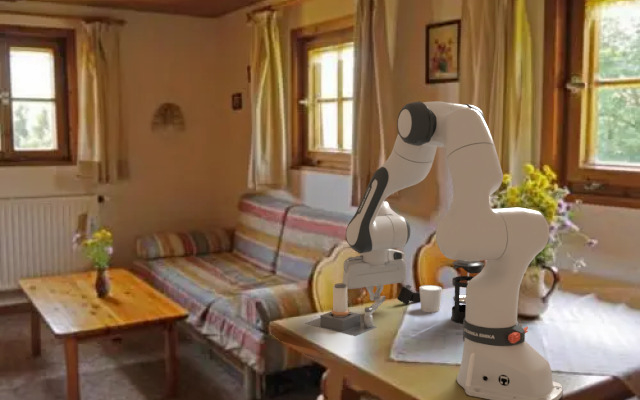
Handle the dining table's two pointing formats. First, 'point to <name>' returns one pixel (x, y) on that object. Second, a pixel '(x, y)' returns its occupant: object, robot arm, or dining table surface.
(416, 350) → the dining table surface
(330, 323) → the socket block
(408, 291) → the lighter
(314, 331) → the dining table surface
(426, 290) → the white cup
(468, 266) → the french press
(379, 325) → the dining table surface
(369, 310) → the ball-tipped lever
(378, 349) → the dining table surface
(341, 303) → the plug
